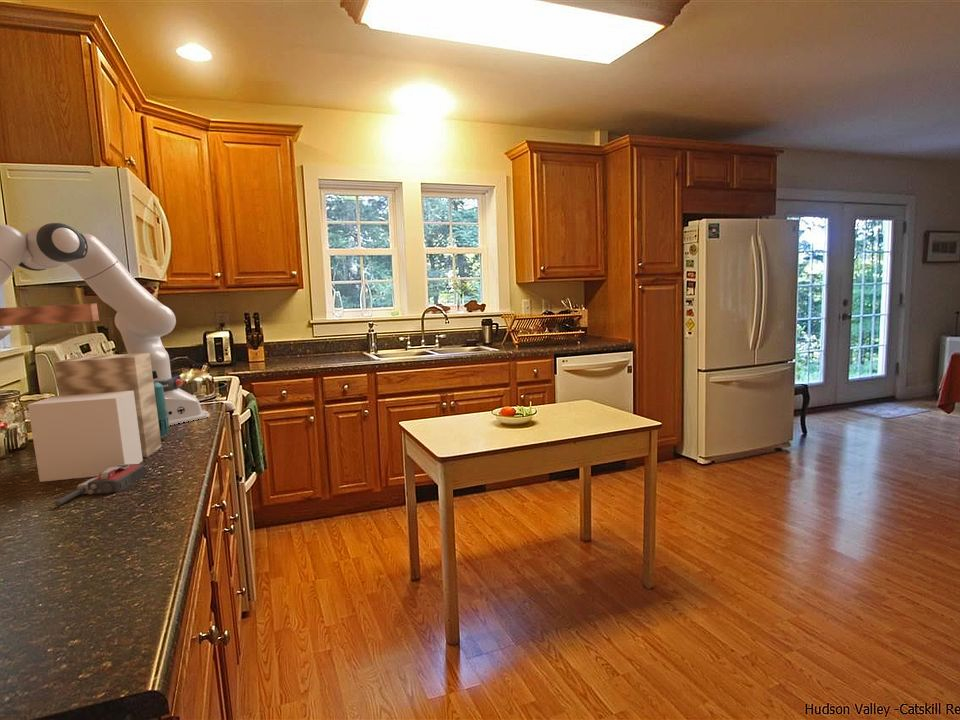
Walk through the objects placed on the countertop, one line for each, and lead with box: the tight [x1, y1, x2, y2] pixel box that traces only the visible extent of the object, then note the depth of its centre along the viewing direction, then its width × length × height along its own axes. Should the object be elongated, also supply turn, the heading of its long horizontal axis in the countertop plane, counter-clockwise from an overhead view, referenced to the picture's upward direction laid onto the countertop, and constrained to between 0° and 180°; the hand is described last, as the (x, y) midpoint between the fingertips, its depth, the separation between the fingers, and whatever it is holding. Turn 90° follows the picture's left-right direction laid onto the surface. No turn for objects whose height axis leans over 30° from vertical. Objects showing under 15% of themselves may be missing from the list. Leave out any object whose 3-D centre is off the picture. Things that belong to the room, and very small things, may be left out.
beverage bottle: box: [152, 371, 170, 437], centre depth 161 cm, size 6×7×20 cm
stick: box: [0, 302, 100, 327], centre depth 129 cm, size 24×3×4 cm, turn 101°
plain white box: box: [27, 391, 144, 483], centre depth 134 cm, size 18×10×18 cm, turn 101°
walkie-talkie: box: [55, 463, 147, 506], centre depth 121 cm, size 9×4×20 cm
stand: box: [53, 353, 162, 459], centre depth 146 cm, size 18×10×26 cm, turn 101°
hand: (1, 314), depth 127 cm, fingers closed on stick, 3 cm apart
